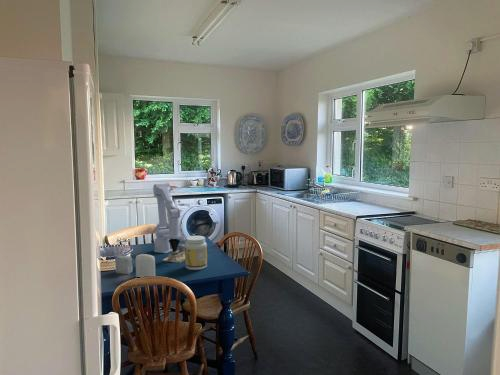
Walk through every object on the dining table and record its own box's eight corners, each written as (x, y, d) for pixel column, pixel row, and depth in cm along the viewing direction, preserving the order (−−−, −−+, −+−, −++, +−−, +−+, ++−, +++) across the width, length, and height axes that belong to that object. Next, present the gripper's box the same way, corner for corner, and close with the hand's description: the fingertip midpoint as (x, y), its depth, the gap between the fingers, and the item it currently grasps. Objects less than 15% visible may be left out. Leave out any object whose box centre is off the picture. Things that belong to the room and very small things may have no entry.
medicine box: (133, 271, 206) (132, 256, 205) (127, 274, 202) (127, 258, 201) (120, 270, 209) (120, 255, 208) (115, 273, 205) (114, 257, 204)
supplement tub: (181, 266, 214) (180, 237, 212) (200, 262, 222) (199, 234, 220) (192, 272, 204) (191, 241, 203) (211, 267, 212) (210, 238, 210)
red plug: (182, 249, 238) (182, 242, 238) (186, 247, 242) (186, 241, 242) (188, 250, 236) (188, 243, 236) (192, 248, 240) (192, 241, 240)
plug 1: (169, 258, 226) (169, 251, 225) (174, 256, 230) (173, 249, 229) (176, 259, 224) (175, 252, 223) (180, 257, 228) (180, 250, 227)
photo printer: (156, 276, 198) (155, 253, 197) (153, 279, 194) (152, 256, 193) (139, 275, 201) (137, 252, 199) (134, 278, 196) (133, 255, 195)
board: (162, 260, 225) (162, 254, 225) (183, 251, 246) (183, 245, 245) (179, 262, 221) (179, 256, 220) (199, 252, 241) (199, 247, 240)
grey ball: (176, 252, 232) (176, 245, 231) (180, 250, 236) (180, 243, 235) (182, 253, 230) (182, 246, 229) (186, 251, 234) (186, 244, 234)
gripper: (159, 229, 224) (160, 251, 225) (180, 231, 218) (181, 254, 220) (166, 226, 230) (167, 248, 232) (187, 228, 225) (187, 251, 226)
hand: (174, 251), depth 226 cm, fingers closed, pressing on plug 1
